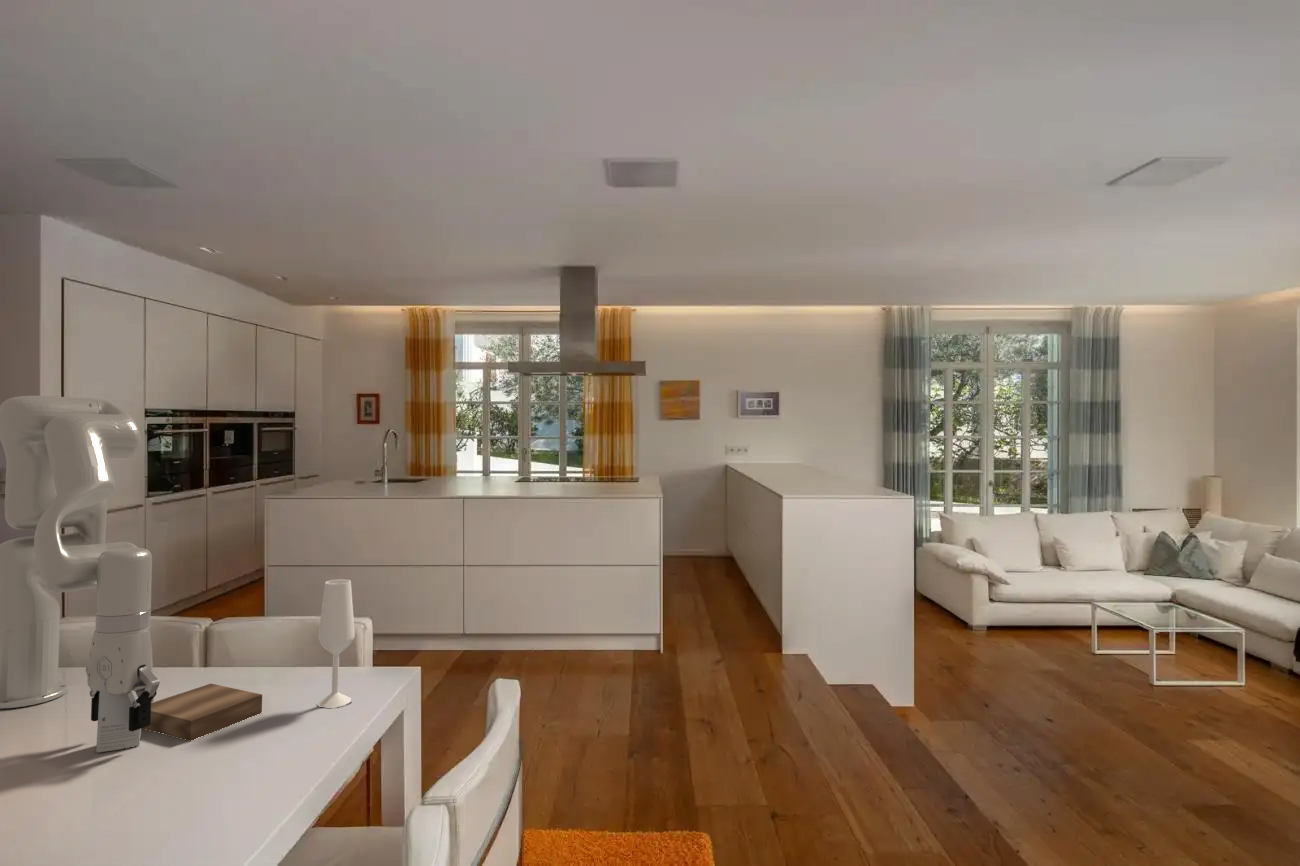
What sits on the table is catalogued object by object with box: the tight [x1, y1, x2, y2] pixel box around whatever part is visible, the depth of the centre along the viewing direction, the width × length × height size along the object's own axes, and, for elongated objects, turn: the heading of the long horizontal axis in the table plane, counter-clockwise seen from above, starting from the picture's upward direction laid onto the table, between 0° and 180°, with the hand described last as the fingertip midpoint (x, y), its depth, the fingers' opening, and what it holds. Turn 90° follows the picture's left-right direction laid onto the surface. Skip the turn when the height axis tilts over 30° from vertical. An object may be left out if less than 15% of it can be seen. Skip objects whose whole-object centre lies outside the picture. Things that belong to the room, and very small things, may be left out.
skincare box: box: [95, 679, 142, 754], centre depth 122 cm, size 6×4×12 cm
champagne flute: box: [317, 578, 356, 707], centre depth 143 cm, size 7×7×24 cm
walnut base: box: [142, 683, 263, 742], centre depth 133 cm, size 14×14×4 cm
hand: (120, 723), depth 122 cm, fingers open, 9 cm apart
